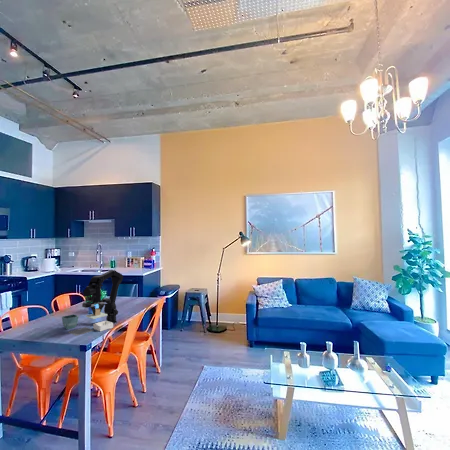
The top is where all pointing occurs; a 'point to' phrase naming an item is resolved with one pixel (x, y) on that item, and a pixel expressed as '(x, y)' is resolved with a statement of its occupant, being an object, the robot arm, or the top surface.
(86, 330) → the mat
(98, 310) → the lid
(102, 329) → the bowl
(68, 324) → the flower pot
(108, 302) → the robot arm
